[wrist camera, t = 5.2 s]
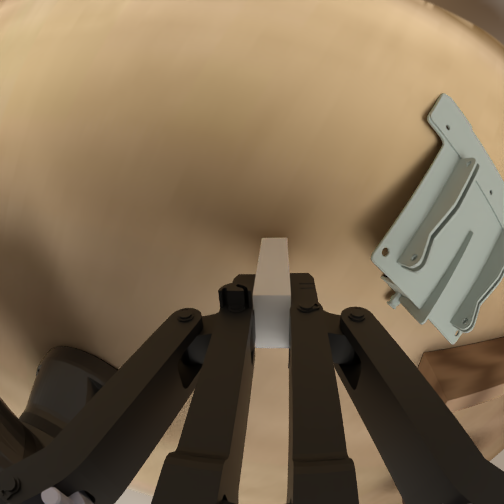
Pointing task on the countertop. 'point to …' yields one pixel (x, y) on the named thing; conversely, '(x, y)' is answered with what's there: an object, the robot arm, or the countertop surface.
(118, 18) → the countertop surface
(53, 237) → the countertop surface
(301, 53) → the countertop surface
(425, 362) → the wooden corner frame
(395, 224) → the metal bracket
